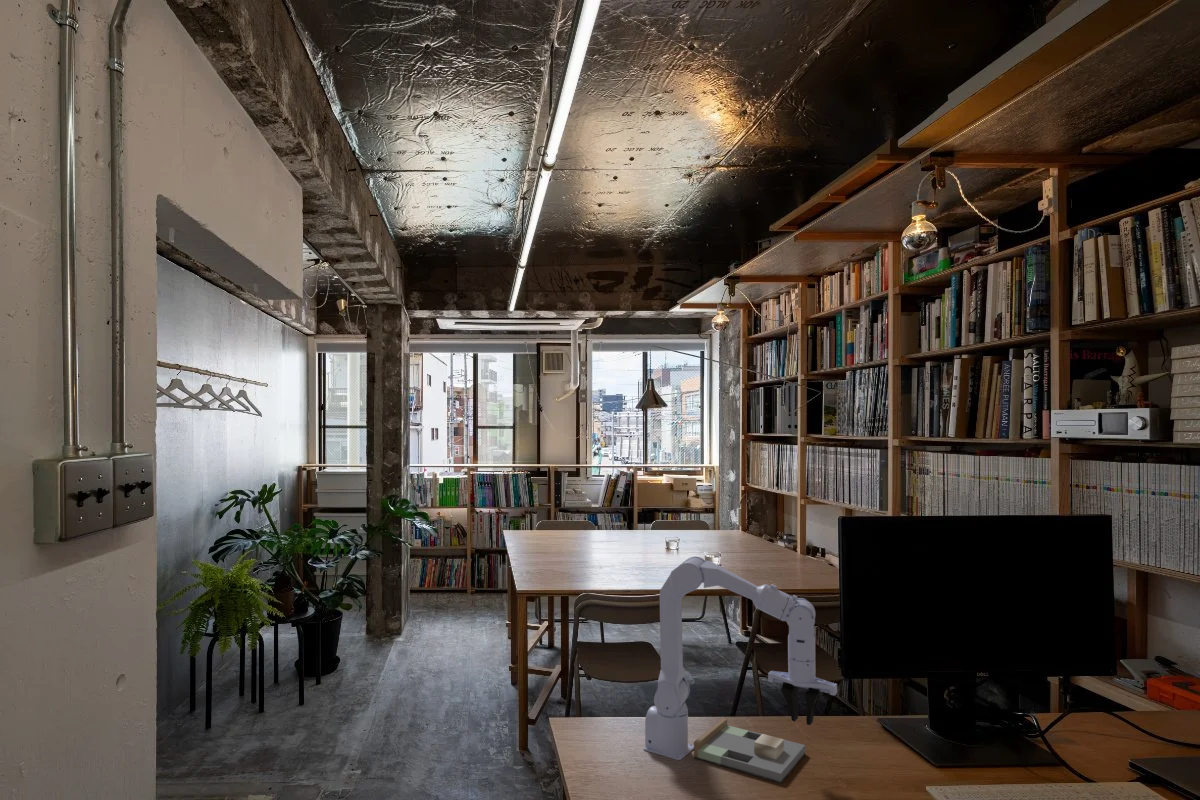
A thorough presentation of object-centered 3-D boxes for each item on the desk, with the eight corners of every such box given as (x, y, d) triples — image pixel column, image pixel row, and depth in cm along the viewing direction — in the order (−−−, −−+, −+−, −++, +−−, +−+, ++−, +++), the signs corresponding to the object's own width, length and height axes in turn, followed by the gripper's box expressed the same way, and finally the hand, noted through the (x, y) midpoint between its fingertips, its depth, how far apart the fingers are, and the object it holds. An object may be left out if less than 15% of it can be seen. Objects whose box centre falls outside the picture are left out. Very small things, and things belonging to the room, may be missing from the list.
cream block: (754, 753, 154) (754, 741, 155) (762, 745, 159) (762, 733, 159) (776, 759, 152) (776, 747, 152) (783, 750, 156) (783, 739, 156)
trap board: (693, 758, 157) (693, 742, 157) (723, 732, 170) (723, 717, 170) (780, 783, 145) (780, 766, 146) (805, 754, 159) (805, 738, 159)
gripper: (840, 658, 151) (841, 722, 151) (775, 647, 159) (776, 707, 159) (831, 668, 145) (832, 734, 145) (764, 655, 153) (764, 718, 153)
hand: (802, 721), depth 151 cm, fingers open, 3 cm apart
